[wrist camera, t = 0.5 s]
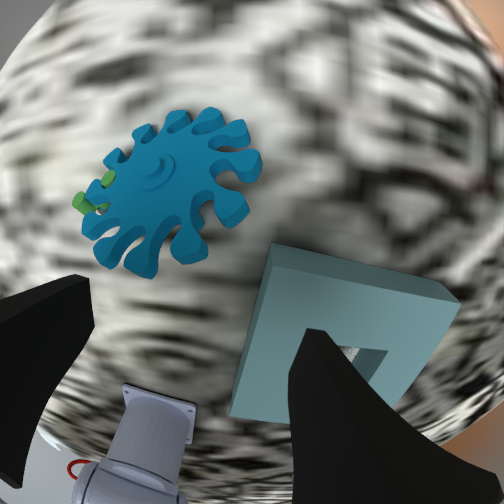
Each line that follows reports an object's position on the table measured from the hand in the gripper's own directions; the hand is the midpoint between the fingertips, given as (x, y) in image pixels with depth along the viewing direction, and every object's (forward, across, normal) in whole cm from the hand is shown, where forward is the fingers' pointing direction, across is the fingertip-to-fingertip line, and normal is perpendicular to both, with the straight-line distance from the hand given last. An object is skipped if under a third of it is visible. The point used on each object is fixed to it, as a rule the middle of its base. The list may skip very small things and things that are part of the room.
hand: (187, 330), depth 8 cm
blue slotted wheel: (+10, +4, -3) cm, 11 cm away
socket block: (+10, -10, +7) cm, 16 cm away
